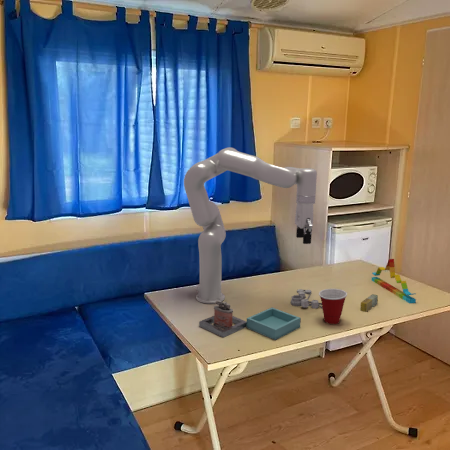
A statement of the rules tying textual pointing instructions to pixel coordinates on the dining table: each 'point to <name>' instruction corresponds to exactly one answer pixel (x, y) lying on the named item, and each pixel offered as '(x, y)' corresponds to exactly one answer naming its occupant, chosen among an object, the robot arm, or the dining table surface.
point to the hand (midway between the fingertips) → (303, 240)
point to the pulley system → (301, 301)
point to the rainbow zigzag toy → (392, 289)
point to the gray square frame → (223, 333)
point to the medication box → (369, 303)
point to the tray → (273, 323)
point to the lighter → (223, 315)
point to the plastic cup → (332, 304)
